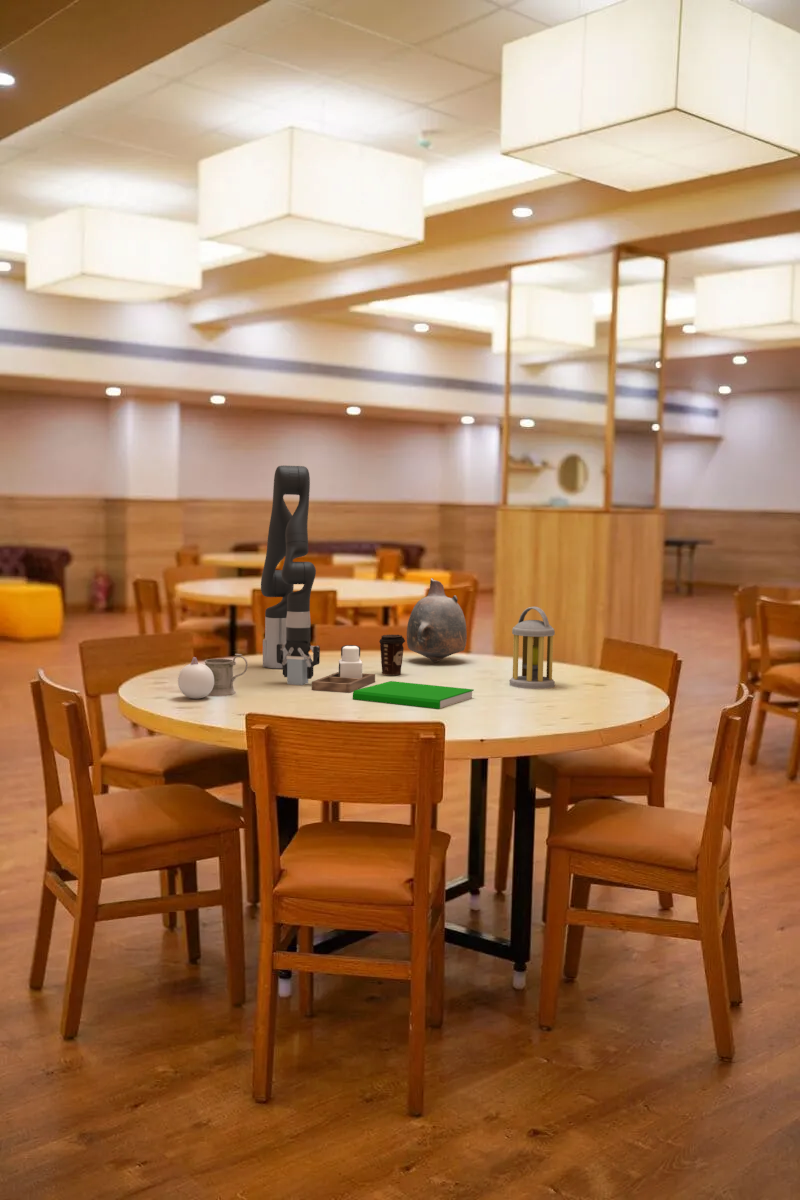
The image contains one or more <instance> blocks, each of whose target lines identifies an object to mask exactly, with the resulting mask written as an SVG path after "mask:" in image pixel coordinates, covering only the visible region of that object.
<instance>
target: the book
mask: <svg viewBox="0 0 800 1200" xmlns="http://www.w3.org/2000/svg"><path fill="white" fill-rule="evenodd" d="M473 691H474V689H473V688H463V687H454V686H453V687H452V686H442V685H436V684H435V685H434V684H424V683H423V684H422V683H413V682H405V681H404V682H403V681H394V680H391V681H386V682H383V683H378V684H375V685H370V686H365V687H362V688H360V689H357V690H354V691H353V692H352V700H355V701H364V702H374V703H383V704H391V705H398V706H399V705H400V706H406V707H407V706H408V707H417V708H425V709H426V708H427V709H434V710H435V709H436V710H440V709H442V708H445V707H448V706H451V705H454V704H455V705H456V704H458V703H461V702H464V701H467V700H470V699H472V698H473Z"/></svg>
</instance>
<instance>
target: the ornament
mask: <svg viewBox="0 0 800 1200" xmlns="http://www.w3.org/2000/svg"><path fill="white" fill-rule="evenodd" d="M177 685H178V690H179V691H180V692H181V694H182V695H184V696H185V697H186V698H189V699H194V700H196V699H197V700H198V699H202V698H205V697H207V696H209V695H208V694H209V693H210V692H211V691H212V689H213V686H214V675H213V673H212V671H211V669H210V668H209V667H208V666H206V665H205V663H200V662H199V661H198V659H197V656H196V657H195V656H193V657H192V660H191V662H190V663H189V664H187V665H185V666H184V667H182V668H181V669H180V671H179V674H178V676H177Z"/></svg>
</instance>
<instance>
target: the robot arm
mask: <svg viewBox="0 0 800 1200" xmlns="http://www.w3.org/2000/svg"><path fill="white" fill-rule="evenodd" d="M310 482H311V478H310V472H309V468H308V467H307V466H304V465H278V466H277V467H276V469H275V472H274V476H273V488H272V489H273V491H272V492H273V493H272V506H271V513H270V519H269V524H268V525H269V526H268V533H267V542H266V543H267V544H266V553H265V554H266V555H265V560H264V564H263V568H262V573H261V580H260V590H261V591H260V592H261V593H262V595H263V596H264V597H266V598H282V599H281V601H279V602H278V603H277V604H274V605H272V606H269V607H266V609H265V611H264V612H265V614H264V615H265V617H264V619H265V620H264V624H265V625H264V626H265V629H264V631H265V633H264V634H265V635H264V638H263V639H262V668H269V669H282V676H283V677H284V678H287V656H302V657H304V661H305V662H306V664H307V665H308V667H307V679H308V680H310V679H312V677H314V667H315V666H318V665H320V661H321V660H320V659H321V658H320V657H321V656H320V655H321V652H320V651H321V646H320V645H312V644H311V624H312V623H311V613H310V612H311V611H310V609H311V607H310V606H311V603H310V602H311V601H310V600H311V594H312V589H313V586H314V582H315V579H316V576H317V573H316V572H317V570H316V566H315V565H314V563H312V562H310V561H294V560H295V559H299V558H302V557H305V556H306V555H308V553H309V535H308V521H309V520H308V519H309V508H310V507H309V504H310V492H311V491H310V490H311V489H310V488H311V485H310V484H311V483H310ZM285 495H286V496H287V495H289V496H291V495H293V496H294V495H295V496H299V499H298V504H297V506H296V508H295V510H294V512H293V514H292V513H291V511H290V510H289V508H288V506H287V504H286V502H285V499H284V496H285ZM283 559H284V563H283V566H282V569H276V568H277V567H278V565H279V563H281V561H283ZM295 585H303V587H302V588H301V589H300V590H296V591H294V586H295ZM310 651H311V652H312V654H313V655H312V657H311V654H310Z"/></svg>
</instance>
